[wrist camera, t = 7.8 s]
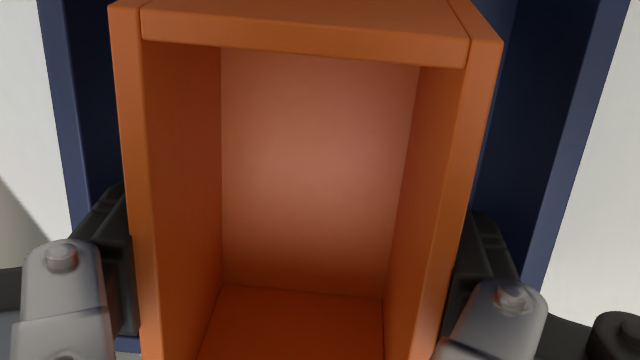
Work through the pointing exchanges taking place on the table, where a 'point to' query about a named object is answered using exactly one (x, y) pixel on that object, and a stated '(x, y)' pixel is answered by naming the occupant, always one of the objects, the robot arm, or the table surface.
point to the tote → (499, 136)
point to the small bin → (298, 170)
